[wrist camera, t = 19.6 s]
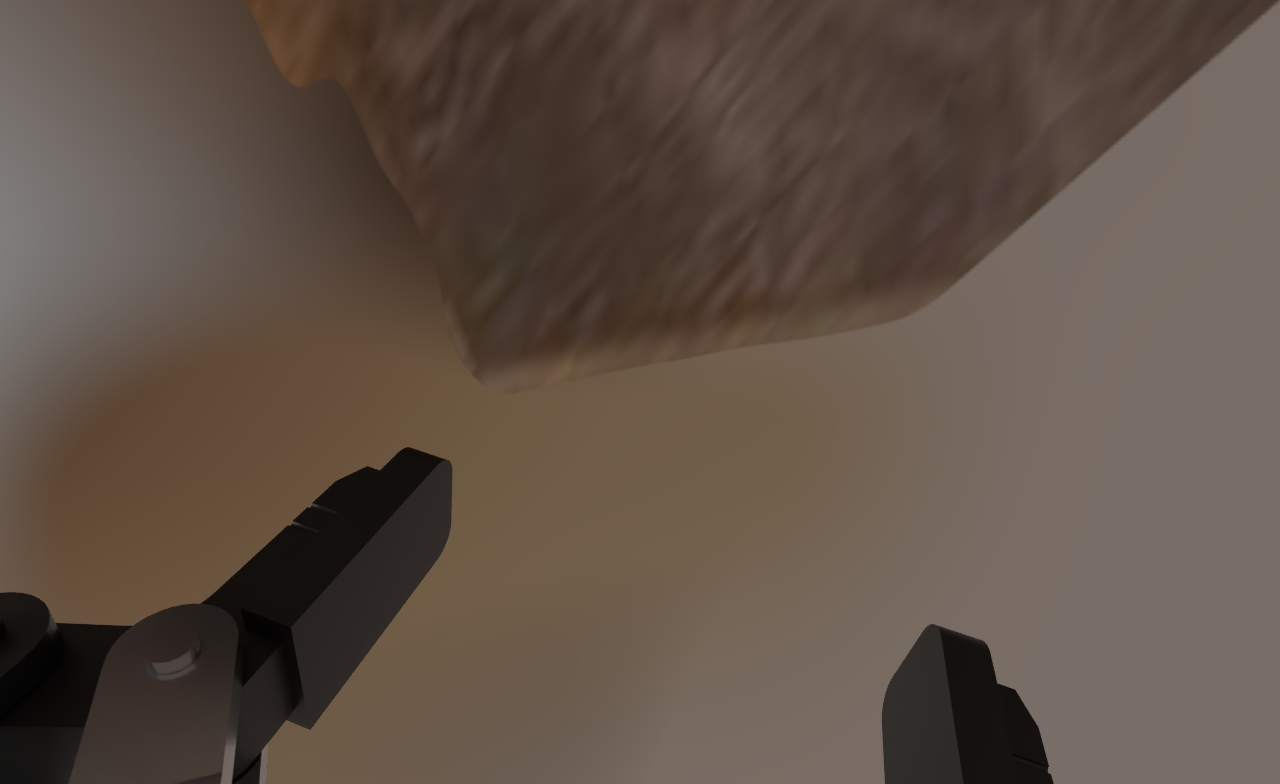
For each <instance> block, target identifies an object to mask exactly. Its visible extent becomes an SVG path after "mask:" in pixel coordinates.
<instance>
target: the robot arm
mask: <svg viewBox="0 0 1280 784" xmlns="http://www.w3.org/2000/svg"><path fill="white" fill-rule="evenodd" d="M451 503H452V465H451V462H450V461H449V460H446V459H442V458H439V457H437V456H434V455H431V454H428V453H425V452H421V451H419V450H416V449H413V448H409V447H407V448H404V449H402V450H401V451H400V452H398V453H397V454H396V455H395V456H394V458H392V459H391V460H390V461H389V462H388V463H387V464H386V465H385V466H384V467H383V468H382V469H381V470H377V469H374V468H371V467H368V466H367V467H365V468H363V469H361V470H358V471H356V472H354V473H352V474H350V475H348V476H346V477H344V478H342V479H339V480H337V481H336V482H334V483H333V484H332V485H331V486H330V487H329V488H328V489H327V490H326V491H325V492H324V493H323V494H321V495H320V496H319V497H318V498H317V499H316V500H315V501H314V502H313V503H312V506H311V508H309V507H308V508H306V509H305V510H304V511H303V512H302V513H301V514H300V515H299V516H298V517H296V518H295V519H294V520H293V523H292V525H291V526H287V527H286V528H284V529H283V530H282V531H281V532H280V533H279V534H278V535H277V536H276V537H275V538H274V539H273V540H271V541H270V542H269V543H268V544H267V545H266V546H265V547H264V548H263V549H262V550H261V551H260V552H258V553H257V554H256V555H255V556H254V557H253V558H252V559H251V560H250V561H249V562H248V563H246V564H245V565H244V566H243V567H242V568H241V569H240V570H239V571H238V572H237V573H236V574H235V575H233V576H232V577H231V578H230V579H229V580H228V581H227V582H226V583H225V584H224V585H222V586H221V587H220V588H219V589H218V590H217V591H216V592H215V593H214V594H212V595H211V596H210V597H209V598H208V599H206V600H205V601H204V602H202V603H201V604H186V605H180V606H175V607H171V608H168V609H165V610H162V611H159V612H157V613H155V614H152V615H150V616H148V617H146V618H145V619H143V620H141V621H140V622H138V623H137V624H135V625H134V626H115V625H114V626H113V625H90V624H67V623H55V621H54V619H53V617H52V615H51V613H50V611H49V609H48V608H47V606H46V604H45V603H44V602H43V601H41V600H40V599H39V598H36V597H35V596H32V595H28V594H24V593H14V592H8V593H0V784H266V772H267V758H268V742H269V741H270V740H271V738H272V737H273V736H274V735H275V733H276V732H277V731H278V730H279V728H280V727H281V726H282V724H283V723H284V722H285V721H286V720H288V721H290V722H293V723H295V724H298V725H300V726H302V727H305V728H307V729H311V728H312V727H313V726H314V724H315V723H316V722H317V720H318V719H319V717H320V716H321V715H322V713H323V712H324V711H325V709H326V708H327V707H328V705H329V704H330V703H331V701H332V700H333V699H334V697H335V696H336V695H337V693H338V692H339V691H340V689H341V688H342V687H343V685H344V684H345V683H346V681H347V680H348V679H349V677H350V676H351V675H352V673H353V672H354V671H355V669H356V668H357V667H358V665H359V664H360V662H361V661H362V660H363V659H364V657H365V656H366V655H367V653H368V652H369V651H370V649H371V648H372V646H373V645H374V644H375V643H376V641H377V640H378V638H379V637H380V636H381V634H382V633H383V632H384V630H385V629H386V628H387V626H388V625H389V624H390V622H391V621H392V620H393V618H394V617H395V615H396V614H397V613H398V612H399V610H400V609H401V608H402V606H403V605H404V604H405V602H406V601H407V600H408V598H409V597H410V595H411V594H412V593H413V592H414V590H415V589H416V588H417V586H418V585H419V584H420V582H421V581H422V580H423V578H424V577H425V575H426V574H427V573H428V571H429V570H430V569H431V567H432V566H433V565H434V563H435V562H436V561H437V559H438V558H439V556H440V555H441V553H442V551H443V549H444V547H445V544H446V542H447V539H448V536H449V532H450V528H451V506H452V504H451ZM882 732H883V751H884V772H885V784H1053V780H1052V776H1051V774H1049V773H1048V767H1049V765H1048V761H1047V757H1046V754H1045V750H1044V746H1043V743H1042V739H1041V735H1040V731H1039V728H1038V726H1037V724H1036V723H1035V721H1034V720H1033V718H1032V716H1031V715H1030V713H1029V712H1028V710H1027V709H1026V707H1025V705H1024V703H1023V702H1022V700H1021V699H1020V697H1019V695H1018V694H1017V692H1016V690H1014V689H1012V688H1009V687H1006V686H1003V685H1000V684H997V680H996V676H995V671H994V667H993V663H992V659H991V654H990V650H989V648H988V646H987V644H986V643H985V642H984V641H982V640H979V639H976V638H973V637H970V636H967V635H964V634H961V633H958V632H955V631H952V630H949V629H946V628H943V627H940V626H937V625H934V624H931V625H929V626H927V627H926V628H925V629H924V631H923V632H922V634H921V635H920V637H919V638H918V640H917V641H916V643H915V644H914V646H913V647H912V649H911V650H910V652H909V653H908V655H907V656H906V658H905V659H904V661H903V662H902V664H901V665H900V667H899V668H898V670H897V671H896V673H895V674H894V676H893V678H892V679H891V681H890V683H889V685H888V688H887V691H886V694H885V698H884V703H883V710H882Z"/></svg>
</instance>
